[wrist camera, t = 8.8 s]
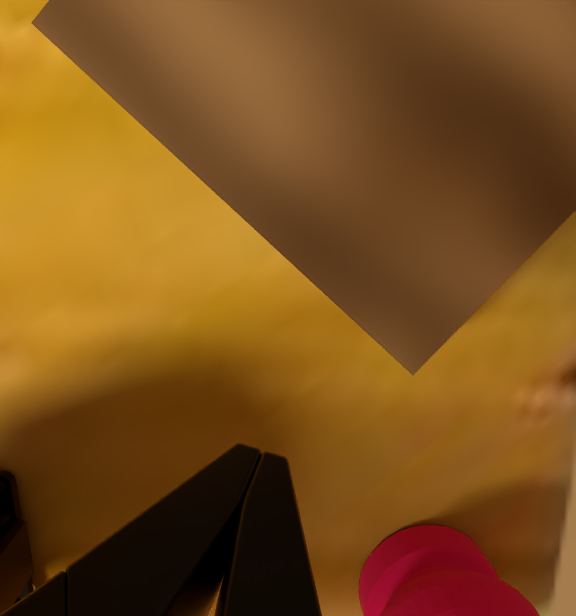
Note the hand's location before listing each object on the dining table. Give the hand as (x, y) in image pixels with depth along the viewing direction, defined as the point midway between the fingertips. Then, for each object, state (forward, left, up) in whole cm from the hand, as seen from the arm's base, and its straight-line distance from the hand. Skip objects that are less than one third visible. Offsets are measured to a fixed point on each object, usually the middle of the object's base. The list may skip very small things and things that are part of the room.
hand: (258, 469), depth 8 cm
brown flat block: (+5, +9, -13) cm, 16 cm away
